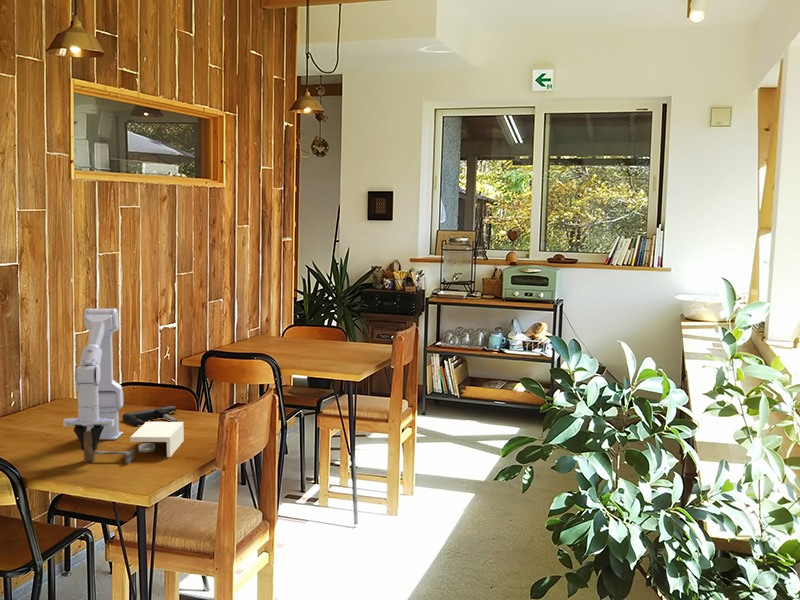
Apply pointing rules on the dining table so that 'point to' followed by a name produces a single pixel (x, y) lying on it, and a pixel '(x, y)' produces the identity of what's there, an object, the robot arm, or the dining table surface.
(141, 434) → the white bridge block
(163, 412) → the door handle
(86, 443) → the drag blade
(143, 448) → the grey round disc
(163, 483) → the dining table surface
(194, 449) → the dining table surface
